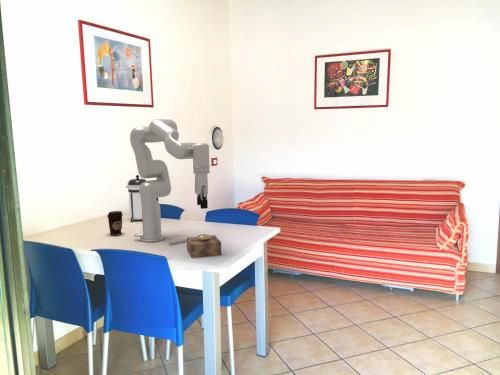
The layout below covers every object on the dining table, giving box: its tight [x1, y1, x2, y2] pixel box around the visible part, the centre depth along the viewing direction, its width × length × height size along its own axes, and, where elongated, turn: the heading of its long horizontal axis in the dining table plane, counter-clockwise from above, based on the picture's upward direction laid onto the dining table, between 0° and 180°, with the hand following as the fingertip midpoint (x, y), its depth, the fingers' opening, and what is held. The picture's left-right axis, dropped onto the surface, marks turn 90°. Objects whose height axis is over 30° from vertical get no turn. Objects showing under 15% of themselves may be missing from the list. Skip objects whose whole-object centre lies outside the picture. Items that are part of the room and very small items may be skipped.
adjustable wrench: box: [168, 234, 212, 246], centre depth 216 cm, size 25×6×2 cm, turn 127°
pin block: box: [186, 234, 222, 259], centre depth 193 cm, size 14×14×6 cm
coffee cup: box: [106, 210, 124, 237], centre depth 230 cm, size 9×8×13 cm
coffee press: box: [125, 174, 159, 223], centre depth 269 cm, size 17×16×30 cm
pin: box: [196, 233, 210, 241], centre depth 193 cm, size 6×6×8 cm
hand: (202, 206), depth 191 cm, fingers open, 9 cm apart
